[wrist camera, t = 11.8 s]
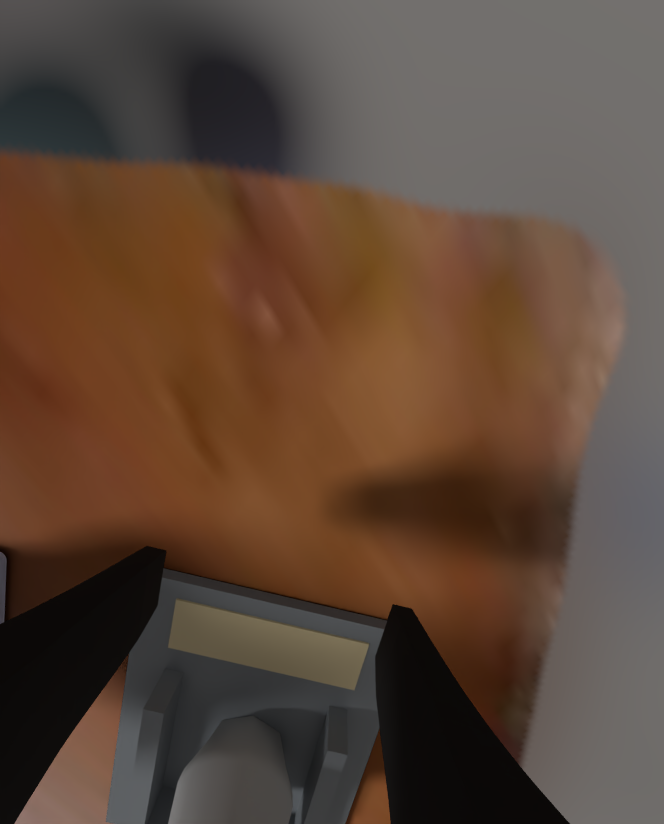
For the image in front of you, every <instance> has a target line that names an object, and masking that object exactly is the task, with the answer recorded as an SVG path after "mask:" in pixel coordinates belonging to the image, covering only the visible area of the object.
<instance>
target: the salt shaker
mask: <svg viewBox="0 0 664 824" xmlns="http://www.w3.org/2000/svg"><path fill="white" fill-rule="evenodd" d="M292 808H293V793H292V788H291V785H290V781H289V777H288V773H287V769H286V765H285V759H284V753H283V748H282V742H281V736H280V733H279V732H278V731H276V730H275V729H273V728H272V727H270V726H269V725H267V724H266V723H264V722H263V721H261V720H260V719H258V718H256V717H255V716H248V717H241V718H234V719H226V720H222V721H221V723H220V724H219V725H218V727H217V728H216V730H215V731H214V733H213V734H212V735H211V737H210V738H209V740H208V741H207V742H206V744H205V745H204V746H203V747H202V748H201V749H200V751H199V752H198V753H197V754H196V755H195V756H194V758H193V759H192V760H191V761H190V762H189V763H188V765H187V766H186V767H185V768H184V770H183V772H182V774H181V776H180V778H179V780H178V783H177V787H176V792H175V796H174V800H173V805H172V809H171V813H170V818H169V822H168V824H289V820H290V816H291V812H292Z"/></svg>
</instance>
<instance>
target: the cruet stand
mask: <svg viewBox="0 0 664 824" xmlns="http://www.w3.org/2000/svg"><path fill="white" fill-rule="evenodd" d="M386 623H387V620H382V619H378V618H374V617H369V616H365V615H361V614H357V613H352V612H348V611H344V610H340V609H335V608H331V607H327V606H322V605H318V604H314V603H310V602H305V601H301V600H297V599H293V598H288V597H284V596H280V595H276V594H271V593H267V592H263V591H258V590H254V589H250V588H246V587H241V586H237V585H233V584H229V583H224V582H220V581H216V580H212V579H207V578H203V577H199V576H194V575H190V574H186V573H182V572H177V571H173V570H169V569H165V568H164V569H163V575H162V581H161V588H160V594H159V600H158V606H157V608H156V610H155V611H154V613H153V615H152V617H151V618H150V620H149V622H148V624H147V625H146V627H145V629H144V631H143V632H142V634H141V636H140V637H139V639H138V641H137V642H136V644H135V645H134V647H133V648H132V649H131V651H130V652H129V658H128V665H127V672H126V680H125V687H124V694H123V701H122V709H121V716H120V723H119V730H118V738H117V745H116V752H115V759H114V767H113V774H112V781H111V788H110V795H109V803H108V810H107V817H106V822H109V823H114V824H168V822H169V818H170V813H171V809H172V805H173V800H174V796H175V792H176V787H177V783H178V780H179V778H180V776H181V774H182V772H183V770H184V768H185V767H186V766H187V765H188V763H189V762H190V761H191V760H192V759H193V758H194V756H195V755H196V754H197V753H198V752H199V751H200V749H201V748H202V747H203V746H204V745H205V744H206V742H207V741H208V740H209V738H210V737H211V735H212V734H213V733H214V731H215V730H216V728H217V727H218V725H219V724H220V723H221V721H222V720H226V719H234V718H241V717H248V716H255V717H256V718H258V719H260V720H261V721H263V722H264V723H266V724H267V725H269V726H270V727H272V728H273V729H275V730H276V731H278V732H279V733H280V736H281V742H282V748H283V753H284V759H285V765H286V769H287V773H288V777H289V781H290V785H291V788H292V793H293V808H292V812H291V816H290V820H289V824H345V823H346V820H347V817H348V814H349V811H350V809H351V806H352V803H353V800H354V798H355V795H356V792H357V789H358V786H359V784H360V781H361V778H362V775H363V773H364V770H365V767H366V764H367V761H368V759H369V756H370V753H371V750H372V747H373V745H374V742H375V739H376V736H377V734H378V731H379V728H380V727H379V718H378V710H377V701H376V682H375V655H376V652H377V649H378V647H379V644H380V641H381V638H382V635H383V632H384V629H385V626H386Z"/></svg>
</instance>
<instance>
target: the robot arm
mask: <svg viewBox="0 0 664 824" xmlns="http://www.w3.org/2000/svg"><path fill="white" fill-rule="evenodd" d="M165 556H166V550H162V549H157V548H153V547H149V546H146V547H144V548H143V549H141V550H139V551H137V552H135V553H134V554H132V555H130V556H128V557H127V558H125V559H123V560H121V561H120V562H118V563H116V564H115V565H113V566H111V567H109V568H108V569H106V570H104V571H102V572H101V573H99V574H97V575H95V576H93V577H92V578H90V579H88V580H86V581H84V582H83V583H81V584H79V585H77V586H75V587H74V588H72V589H70V590H68V591H66V592H64V593H62V594H60V595H58V596H56V597H54V598H52V599H50V600H48V601H47V602H45V603H43V604H41V605H39V606H37V607H35V608H33V609H31V610H29V611H27V612H25V613H23V614H20V615H18V616H16V617H14V618H12V619H10V620H8V621H5V622H4V617H5V591H6V564H7V560H6V556H5V555H4V554H3V553H2V552H0V824H14V823H15V821H16V820H17V818H18V816H19V815H20V813H21V812H22V810H23V808H24V807H25V805H26V803H27V802H28V800H29V799H30V797H31V795H32V794H33V792H34V791H35V789H36V787H37V786H38V784H39V782H40V781H41V779H42V778H43V776H44V774H45V773H46V771H47V770H48V768H49V766H50V765H51V763H52V762H53V760H54V758H55V757H56V755H57V754H58V752H59V751H60V749H61V748H62V746H63V745H64V743H65V742H66V740H67V739H68V737H69V736H70V734H71V733H72V731H73V730H74V729H75V727H76V726H77V724H78V723H79V722H80V720H81V719H82V717H83V716H84V715H85V713H86V712H87V711H88V709H89V708H90V706H91V705H92V704H93V702H94V701H95V699H96V698H97V697H98V695H99V694H100V693H101V691H102V690H103V688H104V687H105V686H106V684H107V683H108V681H109V680H110V679H111V677H112V676H113V675H114V673H115V672H116V670H117V669H118V668H119V666H120V665H121V663H122V662H123V661H124V659H125V658H126V656H127V655H128V654H129V652H130V651H131V649H132V648H133V647H134V645H135V644H136V642H137V641H138V639H139V637H140V636H141V634H142V632H143V631H144V629H145V627H146V625H147V624H148V622H149V620H150V618H151V617H152V615H153V613H154V611H155V610H156V608H157V606H158V600H159V594H160V588H161V581H162V575H163V569H164V562H165ZM375 682H376V701H377V710H378V718H379V727H380V735H381V743H382V751H383V759H384V767H385V775H386V783H387V791H388V799H389V809H390V820H391V824H570V823H569V822H568V821H567V820H566V819H565V818H564V817H563V816H562V815H561V813H560V812H559V811H558V810H557V809H556V808H555V807H554V805H553V804H552V803H551V802H550V801H549V800H548V799H547V797H546V796H545V795H544V794H543V793H542V792H541V791H540V790H539V788H538V787H537V786H536V785H535V784H534V783H533V781H532V780H531V779H530V778H529V777H528V776H527V774H526V773H525V772H524V771H523V769H522V768H521V767H520V766H519V765H518V763H517V762H516V761H515V759H514V758H513V757H512V756H511V754H510V753H509V752H508V751H507V749H506V748H505V747H504V746H503V744H502V743H501V742H500V740H499V739H498V738H497V737H496V735H495V734H494V733H493V731H492V730H491V729H490V727H489V726H488V725H487V723H486V722H485V721H484V719H483V718H482V717H481V715H480V714H479V712H478V711H477V710H476V708H475V707H474V705H473V704H472V702H471V701H470V700H469V698H468V697H467V695H466V694H465V692H464V691H463V689H462V688H461V687H460V685H459V684H458V682H457V681H456V679H455V678H454V676H453V675H452V673H451V671H450V670H449V668H448V667H447V665H446V664H445V662H444V661H443V659H442V657H441V656H440V654H439V653H438V651H437V649H436V648H435V646H434V644H433V643H432V641H431V640H430V638H429V636H428V635H427V633H426V631H425V630H424V628H423V626H422V625H421V623H420V621H419V620H418V618H417V616H416V615H415V613H414V612H413V610H412V609H411V608H406V607H402V606H398V605H394V604H393V605H392V608H391V611H390V614H389V617H388V620H387V623H386V626H385V629H384V632H383V635H382V638H381V641H380V644H379V647H378V649H377V652H376V655H375Z"/></svg>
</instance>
